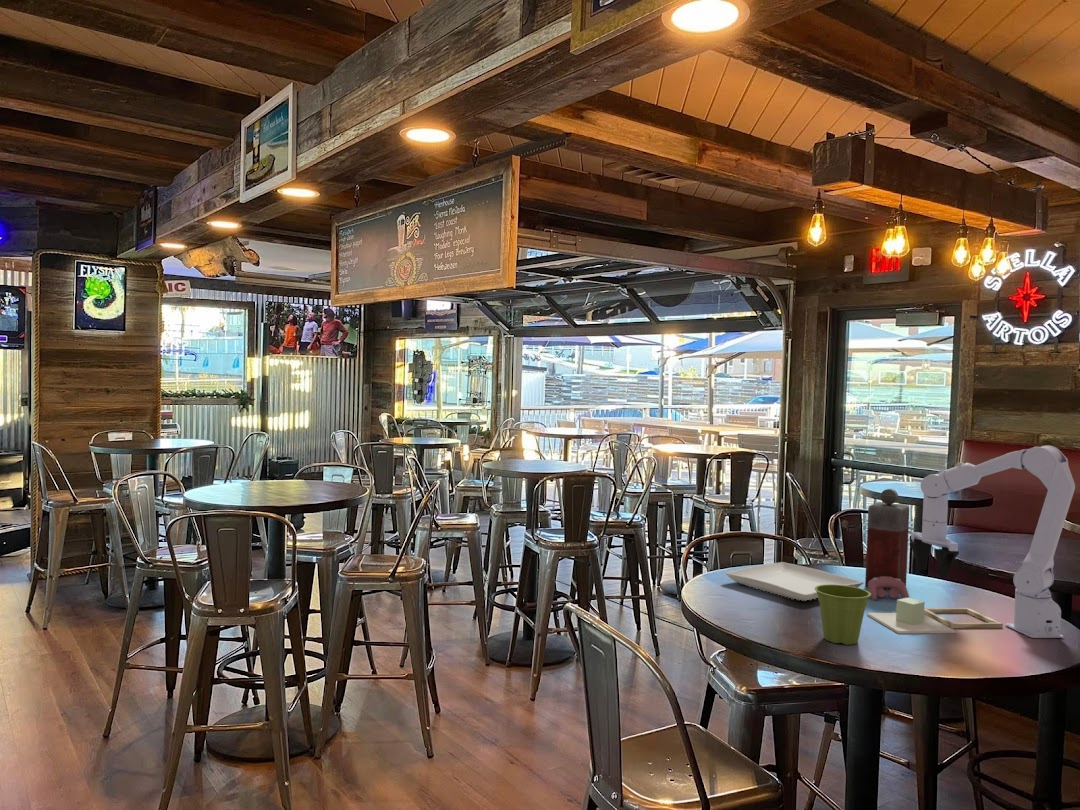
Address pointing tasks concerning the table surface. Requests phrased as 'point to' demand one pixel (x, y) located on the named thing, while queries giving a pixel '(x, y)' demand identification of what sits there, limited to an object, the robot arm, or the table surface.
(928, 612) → the maple pocket frame
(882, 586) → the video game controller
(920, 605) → the sage block
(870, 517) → the brown canister
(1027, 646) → the table surface
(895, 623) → the beige mat
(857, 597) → the plant pot
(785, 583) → the square plate
